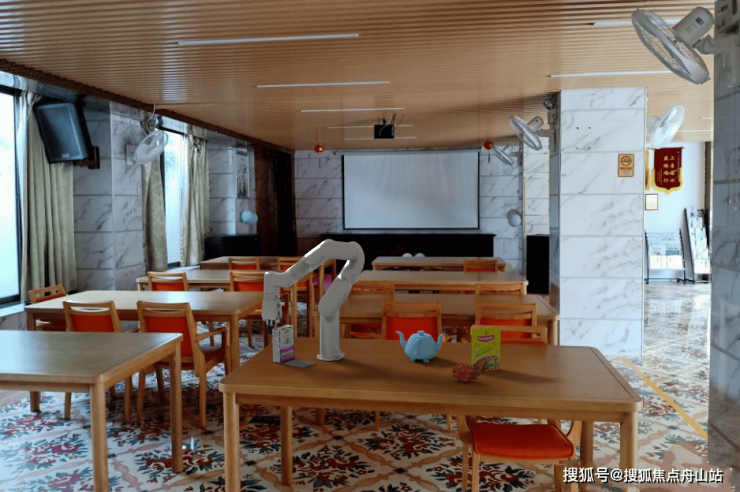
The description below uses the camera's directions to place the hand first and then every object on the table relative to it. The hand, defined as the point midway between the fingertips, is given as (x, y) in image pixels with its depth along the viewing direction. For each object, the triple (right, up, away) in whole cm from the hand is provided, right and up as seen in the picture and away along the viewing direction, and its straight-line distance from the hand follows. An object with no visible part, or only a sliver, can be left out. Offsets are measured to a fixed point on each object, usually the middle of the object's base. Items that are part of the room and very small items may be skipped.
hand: (271, 333), depth 294 cm
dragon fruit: (+90, -15, -39) cm, 99 cm away
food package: (+102, -14, -22) cm, 105 cm away
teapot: (+74, -13, -1) cm, 75 cm away
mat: (+15, -13, -11) cm, 23 cm away
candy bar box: (+7, -13, -3) cm, 15 cm away
